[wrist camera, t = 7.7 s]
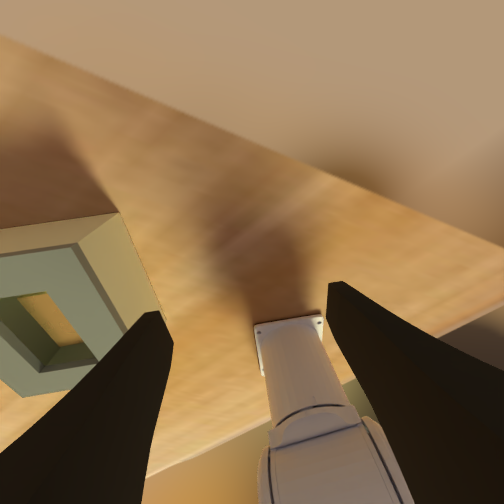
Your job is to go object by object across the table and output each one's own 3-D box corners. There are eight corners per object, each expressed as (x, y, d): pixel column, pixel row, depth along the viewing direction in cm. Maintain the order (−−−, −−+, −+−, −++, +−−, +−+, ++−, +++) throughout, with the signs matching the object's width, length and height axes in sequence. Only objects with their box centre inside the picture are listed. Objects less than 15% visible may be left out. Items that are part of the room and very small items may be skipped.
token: (114, 305, 20) (91, 341, 17) (88, 310, 20) (59, 346, 17) (87, 261, 18) (54, 292, 14) (57, 266, 18) (16, 298, 14)
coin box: (166, 320, 23) (148, 376, 17) (70, 335, 22) (22, 397, 17) (119, 212, 17) (70, 247, 12) (-13, 230, 16) (-124, 275, 11)
